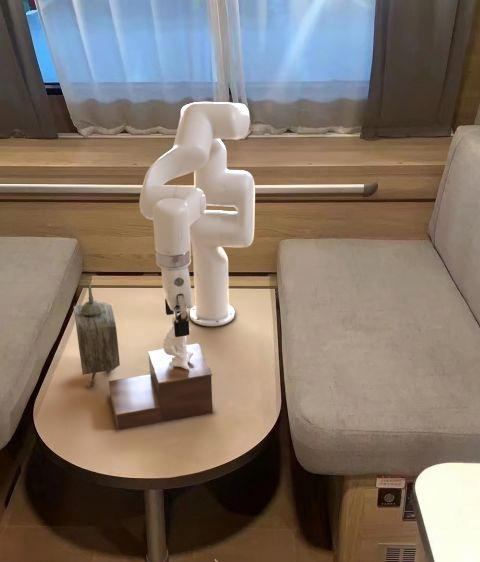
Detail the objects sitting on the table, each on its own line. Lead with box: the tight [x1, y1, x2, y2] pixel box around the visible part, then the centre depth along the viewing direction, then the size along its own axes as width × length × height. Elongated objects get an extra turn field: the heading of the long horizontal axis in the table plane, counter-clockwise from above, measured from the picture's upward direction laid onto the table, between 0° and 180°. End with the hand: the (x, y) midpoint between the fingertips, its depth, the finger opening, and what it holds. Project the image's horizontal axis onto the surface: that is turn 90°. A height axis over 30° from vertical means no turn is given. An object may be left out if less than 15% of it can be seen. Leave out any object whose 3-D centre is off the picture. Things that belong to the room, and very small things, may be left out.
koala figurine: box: [162, 316, 193, 369], centre depth 171 cm, size 8×7×12 cm
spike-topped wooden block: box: [73, 282, 121, 388], centre depth 184 cm, size 14×9×25 cm, turn 13°
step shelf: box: [108, 343, 214, 431], centre depth 175 cm, size 13×22×11 cm, turn 105°
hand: (177, 324), depth 170 cm, fingers open, 9 cm apart
